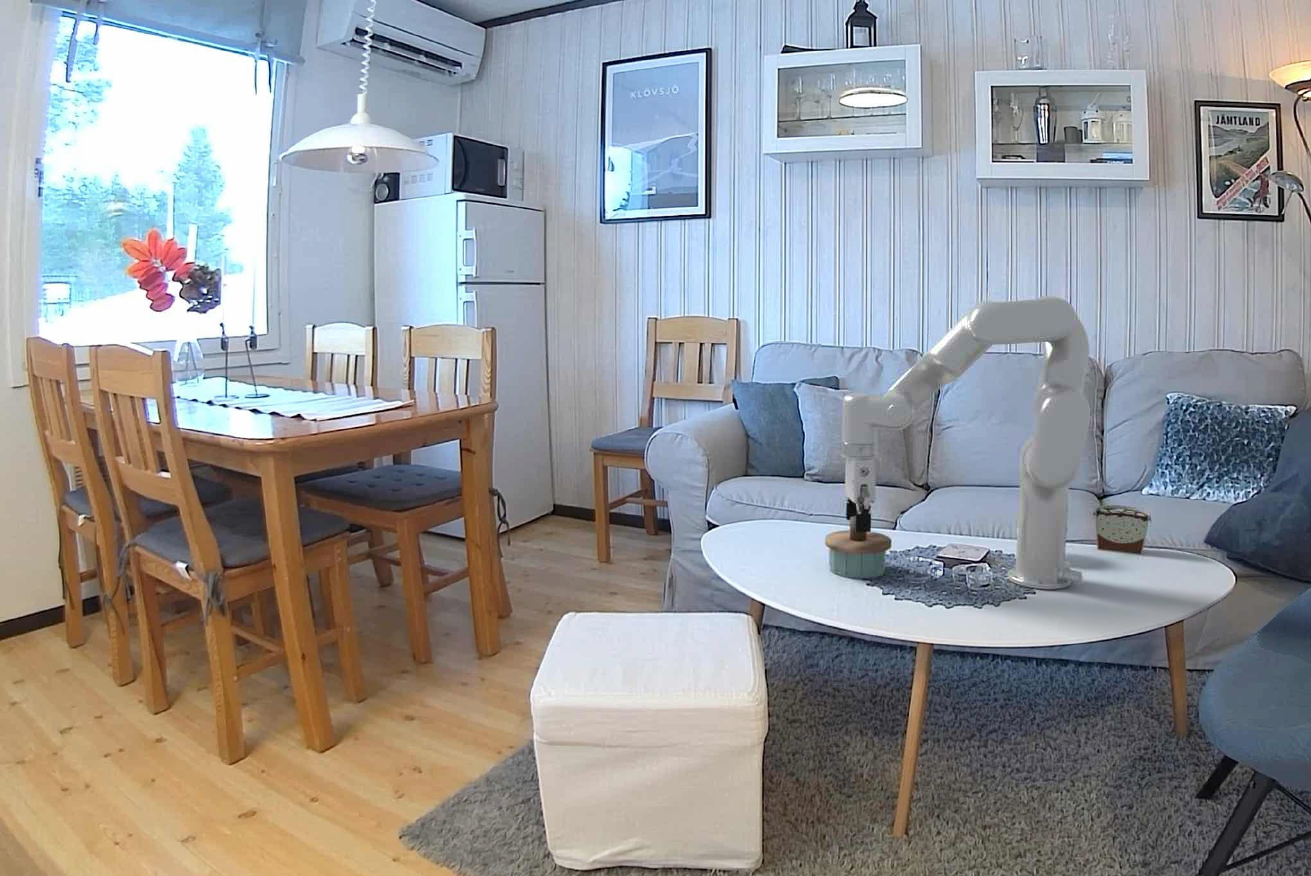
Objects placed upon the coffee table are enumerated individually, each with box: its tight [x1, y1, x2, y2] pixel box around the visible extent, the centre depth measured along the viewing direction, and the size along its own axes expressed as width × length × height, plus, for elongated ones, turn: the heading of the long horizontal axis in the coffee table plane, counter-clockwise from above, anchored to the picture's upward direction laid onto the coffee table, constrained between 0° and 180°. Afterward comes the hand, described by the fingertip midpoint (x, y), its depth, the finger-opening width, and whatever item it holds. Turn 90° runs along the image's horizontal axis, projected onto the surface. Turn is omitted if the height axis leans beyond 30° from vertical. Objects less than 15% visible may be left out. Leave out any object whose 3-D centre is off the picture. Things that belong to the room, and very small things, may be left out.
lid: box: [824, 516, 892, 554], centre depth 203 cm, size 14×14×7 cm
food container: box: [1092, 504, 1152, 556], centre depth 215 cm, size 12×6×10 cm, turn 58°
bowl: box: [828, 548, 887, 580], centre depth 204 cm, size 12×12×6 cm
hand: (858, 525), depth 203 cm, fingers open, 9 cm apart
